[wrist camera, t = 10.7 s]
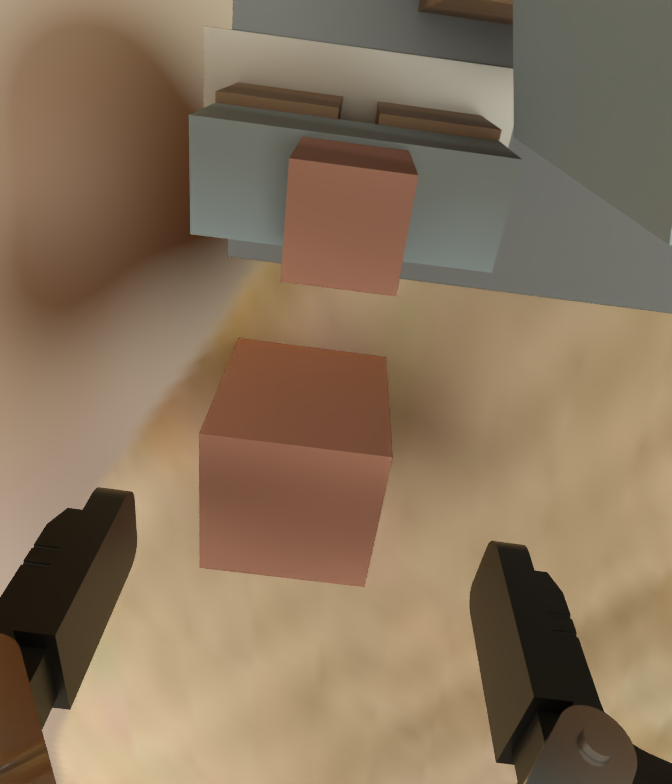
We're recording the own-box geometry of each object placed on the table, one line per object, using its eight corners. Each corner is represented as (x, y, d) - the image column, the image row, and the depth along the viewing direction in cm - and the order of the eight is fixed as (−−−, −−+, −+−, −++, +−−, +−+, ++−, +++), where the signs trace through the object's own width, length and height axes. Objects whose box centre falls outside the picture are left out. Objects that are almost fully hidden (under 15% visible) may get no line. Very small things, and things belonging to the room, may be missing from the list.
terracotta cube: (364, 469, 20) (364, 586, 16) (234, 454, 20) (200, 567, 16) (385, 355, 18) (392, 456, 14) (239, 337, 18) (199, 433, 13)
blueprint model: (478, 259, 15) (542, 388, 10) (205, 223, 15) (111, 335, 10) (525, 70, 13) (646, 97, 7) (205, 26, 13) (82, 20, 7)
